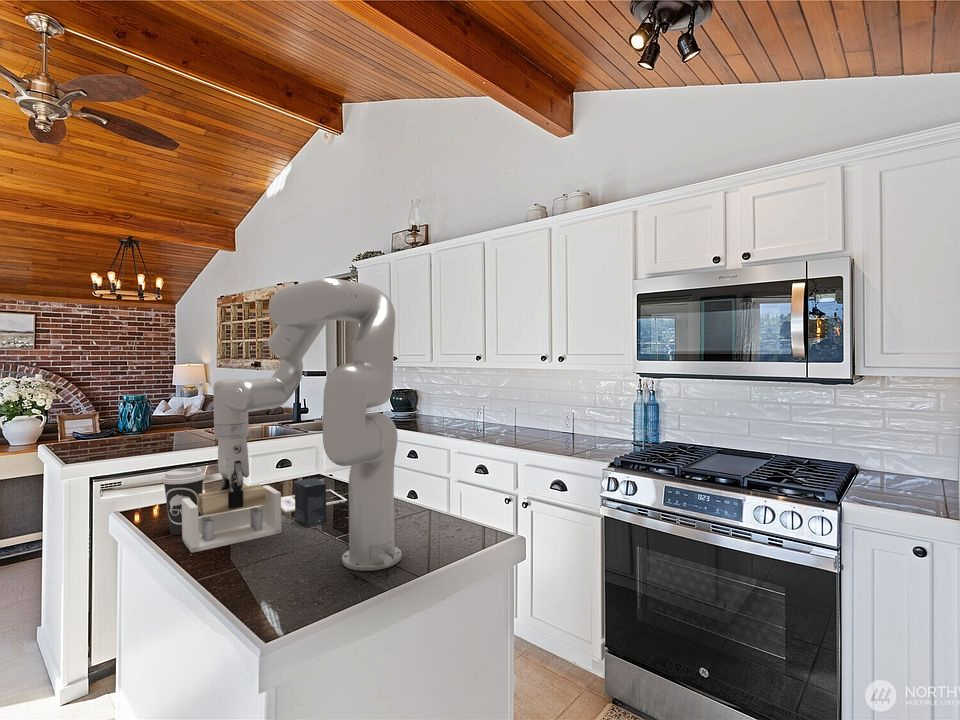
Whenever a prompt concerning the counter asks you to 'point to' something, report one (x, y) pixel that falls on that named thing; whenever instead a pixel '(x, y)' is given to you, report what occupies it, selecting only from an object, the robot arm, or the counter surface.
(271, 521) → the peg frame
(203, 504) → the oak board
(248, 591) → the counter surface
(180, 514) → the coffee cup
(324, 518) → the box
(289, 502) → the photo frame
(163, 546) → the counter surface
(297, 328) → the robot arm
